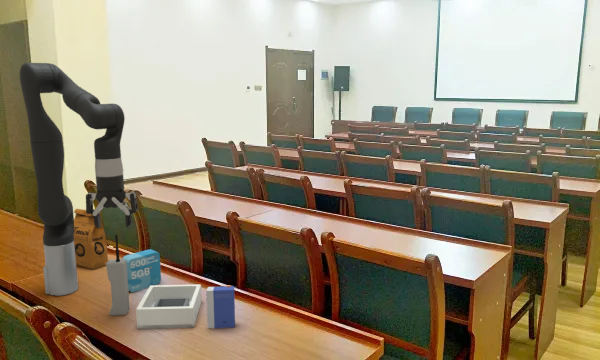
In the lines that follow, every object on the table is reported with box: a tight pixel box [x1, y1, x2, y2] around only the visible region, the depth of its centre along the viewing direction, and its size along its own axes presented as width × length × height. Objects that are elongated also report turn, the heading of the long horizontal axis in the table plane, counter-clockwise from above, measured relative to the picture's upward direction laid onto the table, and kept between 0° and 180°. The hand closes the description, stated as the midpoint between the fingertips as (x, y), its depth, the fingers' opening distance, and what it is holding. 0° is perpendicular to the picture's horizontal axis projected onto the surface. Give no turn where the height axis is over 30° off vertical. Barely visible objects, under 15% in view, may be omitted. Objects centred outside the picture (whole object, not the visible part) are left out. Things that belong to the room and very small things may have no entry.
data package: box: [121, 248, 162, 293], centre depth 169 cm, size 12×4×12 cm, turn 137°
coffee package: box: [73, 208, 109, 270], centre depth 188 cm, size 10×12×22 cm
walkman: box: [205, 284, 236, 329], centre depth 142 cm, size 8×3×12 cm, turn 96°
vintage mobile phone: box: [106, 234, 131, 317], centre depth 148 cm, size 4×5×25 cm
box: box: [135, 283, 202, 330], centre depth 149 cm, size 16×17×6 cm
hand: (113, 227), depth 146 cm, fingers open, 8 cm apart
